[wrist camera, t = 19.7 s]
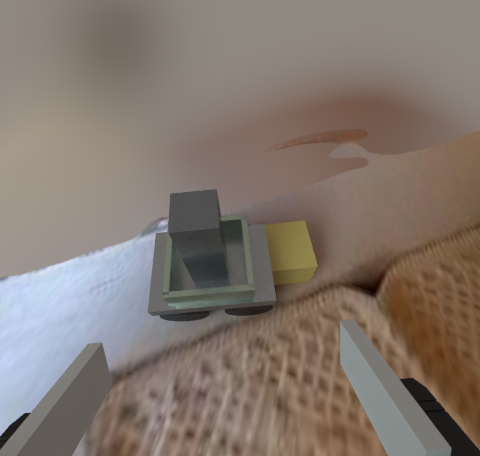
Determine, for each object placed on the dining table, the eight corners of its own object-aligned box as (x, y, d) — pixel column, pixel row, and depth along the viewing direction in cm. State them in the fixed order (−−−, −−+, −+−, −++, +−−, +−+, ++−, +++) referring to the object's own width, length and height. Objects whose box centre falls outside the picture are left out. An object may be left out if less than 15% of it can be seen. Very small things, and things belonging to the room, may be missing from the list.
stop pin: (226, 247, 32) (216, 189, 23) (228, 278, 30) (218, 228, 21) (193, 251, 32) (170, 193, 23) (194, 282, 30) (168, 233, 20)
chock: (298, 239, 41) (304, 220, 36) (309, 281, 37) (317, 266, 33) (261, 243, 41) (262, 224, 36) (268, 286, 37) (270, 271, 33)
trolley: (262, 250, 40) (265, 210, 31) (271, 317, 35) (279, 291, 26) (171, 258, 40) (148, 220, 31) (167, 326, 35) (137, 304, 26)
